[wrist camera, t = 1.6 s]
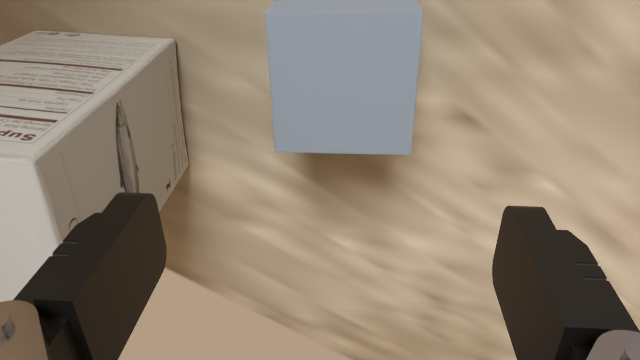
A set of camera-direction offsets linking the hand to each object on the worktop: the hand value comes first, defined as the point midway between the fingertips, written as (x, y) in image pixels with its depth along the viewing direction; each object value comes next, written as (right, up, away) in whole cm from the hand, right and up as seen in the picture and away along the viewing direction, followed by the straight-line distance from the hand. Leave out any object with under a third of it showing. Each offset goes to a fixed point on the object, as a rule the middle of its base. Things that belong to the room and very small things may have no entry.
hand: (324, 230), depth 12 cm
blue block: (+1, +8, +12) cm, 15 cm away
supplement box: (-11, +6, +15) cm, 19 cm away
